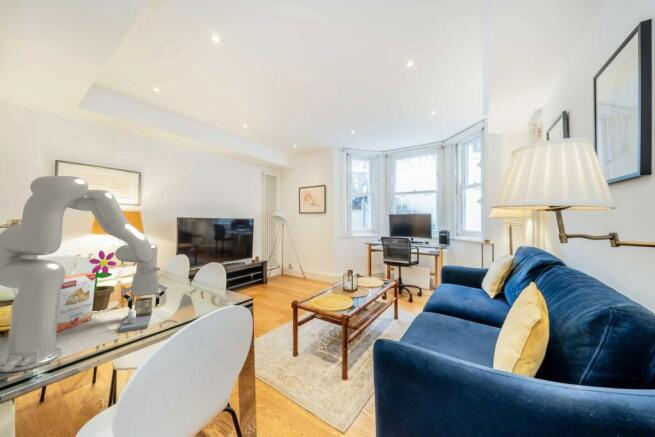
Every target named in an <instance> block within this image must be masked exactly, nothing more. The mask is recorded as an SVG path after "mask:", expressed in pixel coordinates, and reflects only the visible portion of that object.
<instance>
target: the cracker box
mask: <svg viewBox="0 0 655 437" xmlns="http://www.w3.org/2000/svg"><path fill="white" fill-rule="evenodd" d="M95 277H96V273H94V274H93V273H92V272H90V273H89V272H87V273H85V272H82V273H78V274H71V275H67V276H66V275H65V279H64V282H63V285H62V288H61V291H60V297H59V306H58V307H59V308H58V319H57V331H56V334H57V333H59V332H62V331H64V330H67V329H70V328H72V326H73V327H75V325H76V326H78V325H80V324H79V323H81V324H83V323H82V322H84V321H86V320H89V319H91V320H92V316H93V315H92V314H93V313H92V307H93V297H94V287H95ZM89 321H90V320H89ZM86 322H87V321H86ZM84 323H85V322H84ZM77 324H78V325H77Z"/></svg>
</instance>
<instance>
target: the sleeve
mask: <svg viewBox="0 0 655 437" xmlns="http://www.w3.org/2000/svg"><path fill="white" fill-rule="evenodd" d="M152 309H153V296H146V297H138V298H137V297H136V299H135V301H134V310H135V311H136V317H143V316H150V315H151V312H152V313H153V310H152ZM151 316H152V315H151Z"/></svg>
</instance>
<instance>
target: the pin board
mask: <svg viewBox="0 0 655 437" xmlns="http://www.w3.org/2000/svg"><path fill="white" fill-rule="evenodd" d="M152 315H153V311H152V312H151V315H150V316H143V317H136V311H135V309H131V310H129V311H128V313H127V315H126V317H125V319H124V321H123V323H122V324H121V326H120V328H119V333H121V334H122V333H126V332H132V331H138V330H139V329H141V330H146V328H147V329H148V328H149V325H150V321H151V318H152Z"/></svg>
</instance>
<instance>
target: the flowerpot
mask: <svg viewBox="0 0 655 437" xmlns="http://www.w3.org/2000/svg"><path fill="white" fill-rule="evenodd" d="M113 257H115V252H110V253H108V254H107V255H106V254H105V251H103V250H99V252H98V258H99V259H98V258H96V259H95V258H91V259H89V261H88V262H89V263H90V264H94V265H96V266H95V267H94V268H92V270H91V273H93V274H96V277H95V287H94V297H93V307H92V310H94V311H100V310H103V311H105V309H106V310H107V309H108V306H109V303H110V298H111V294H113V293H114V291H115V287H114V286H113V285H98V278H99V279H105V278H108V277H111V276H113V273H110V272H109V266H111V267H114V266H117V262H116V261H113V260H111V259H112V258H113ZM100 270H101V272H100ZM100 312H101V311H100Z"/></svg>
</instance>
